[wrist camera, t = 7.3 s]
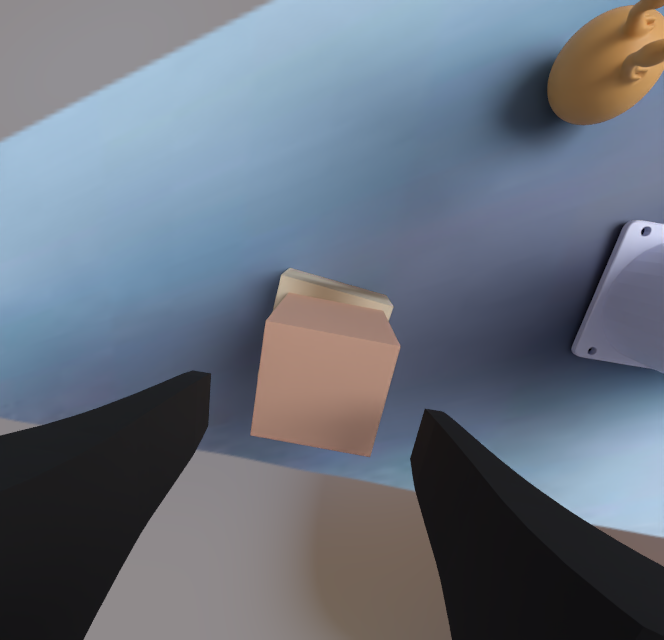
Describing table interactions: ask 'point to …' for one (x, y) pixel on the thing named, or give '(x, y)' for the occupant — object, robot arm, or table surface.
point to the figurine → (608, 64)
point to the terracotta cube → (324, 374)
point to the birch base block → (329, 291)
